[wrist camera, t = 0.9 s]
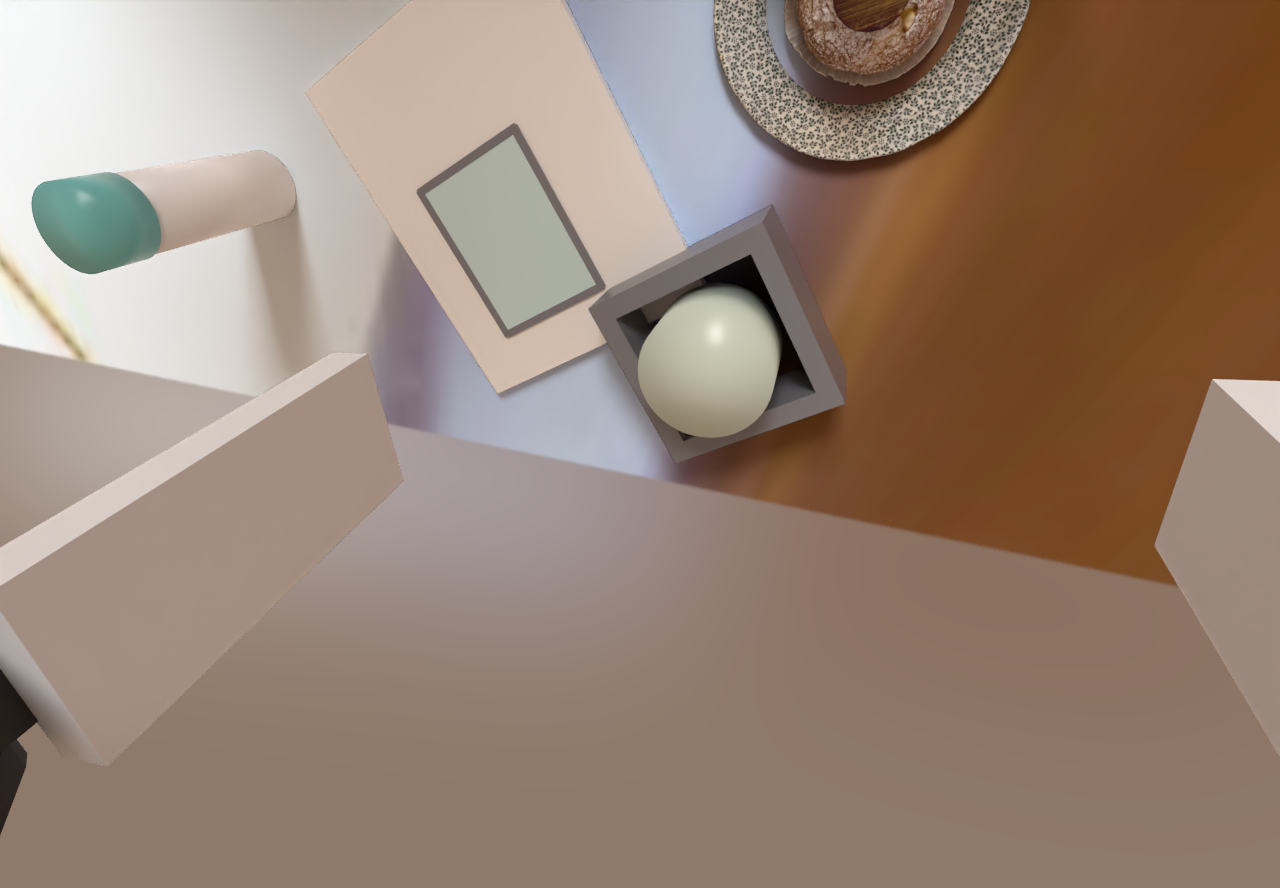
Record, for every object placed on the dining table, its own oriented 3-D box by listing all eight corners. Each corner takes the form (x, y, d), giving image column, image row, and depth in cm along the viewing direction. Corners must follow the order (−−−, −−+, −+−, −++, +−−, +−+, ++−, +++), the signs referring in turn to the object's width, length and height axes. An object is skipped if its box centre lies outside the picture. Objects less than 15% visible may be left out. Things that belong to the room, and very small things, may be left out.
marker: (225, 169, 39) (16, 208, 29) (266, 135, 37) (58, 163, 28) (268, 231, 40) (82, 288, 30) (310, 200, 38) (126, 250, 29)
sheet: (312, 92, 35) (303, 92, 35) (521, -88, 29) (514, -91, 29) (501, 389, 41) (496, 394, 40) (710, 292, 35) (708, 296, 34)
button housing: (612, 285, 36) (587, 309, 33) (772, 203, 32) (762, 221, 29) (691, 428, 39) (675, 463, 36) (846, 370, 35) (845, 403, 32)
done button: (637, 314, 34) (613, 343, 30) (749, 261, 31) (736, 286, 28) (693, 416, 36) (676, 454, 32) (803, 374, 33) (797, 411, 30)
